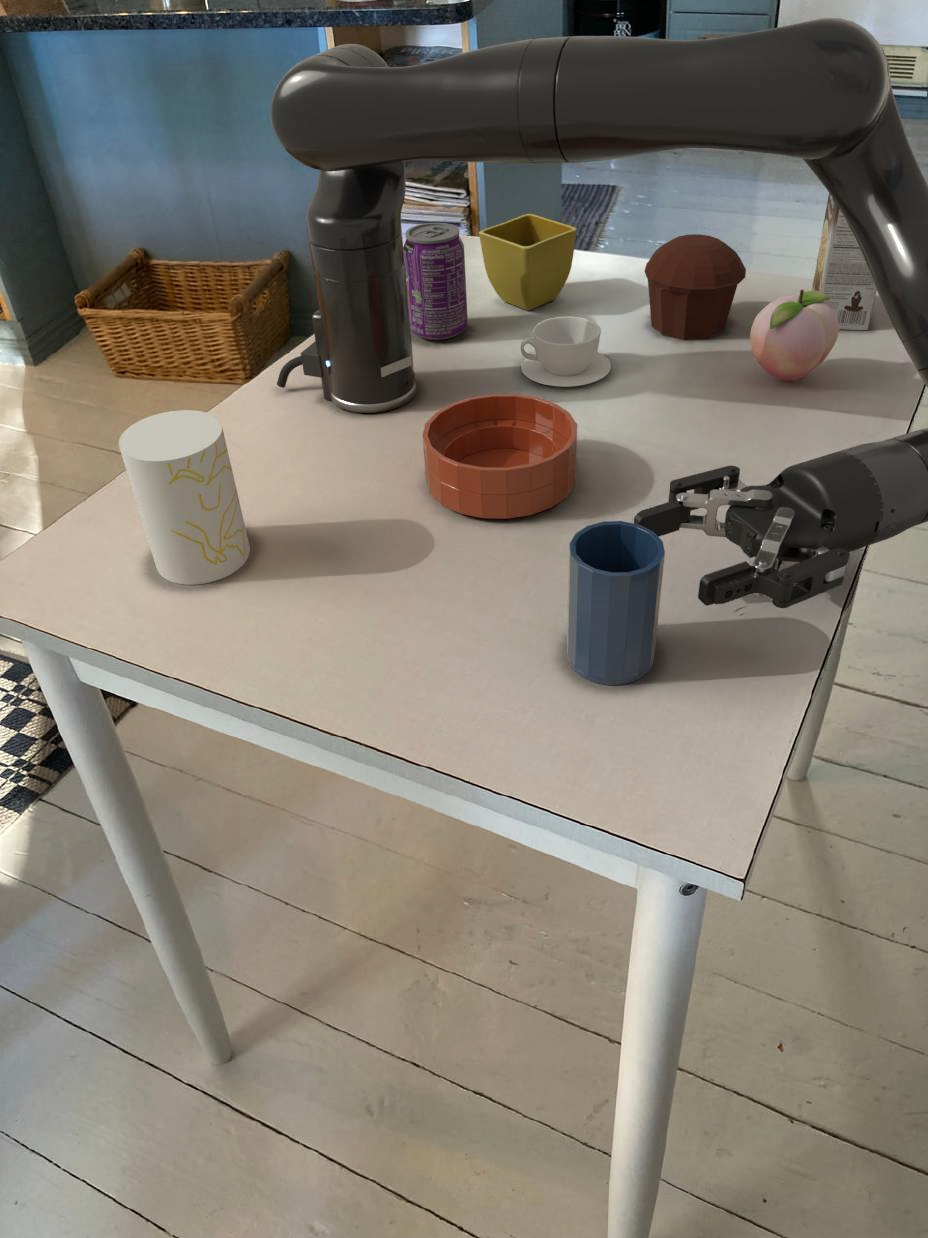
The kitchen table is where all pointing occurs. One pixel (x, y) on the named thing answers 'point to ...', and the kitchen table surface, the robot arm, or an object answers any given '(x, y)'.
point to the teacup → (565, 353)
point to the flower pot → (528, 259)
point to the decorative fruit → (794, 334)
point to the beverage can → (435, 280)
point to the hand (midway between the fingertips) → (667, 559)
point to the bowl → (500, 455)
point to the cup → (186, 495)
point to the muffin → (692, 286)
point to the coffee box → (843, 272)
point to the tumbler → (613, 601)
